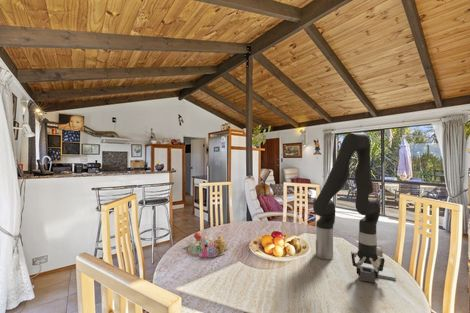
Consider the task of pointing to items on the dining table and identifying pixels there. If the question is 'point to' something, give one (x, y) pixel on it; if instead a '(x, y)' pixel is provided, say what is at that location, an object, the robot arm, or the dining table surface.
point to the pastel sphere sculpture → (207, 246)
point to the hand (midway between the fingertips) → (366, 276)
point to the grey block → (367, 274)
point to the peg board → (385, 273)
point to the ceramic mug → (379, 252)
